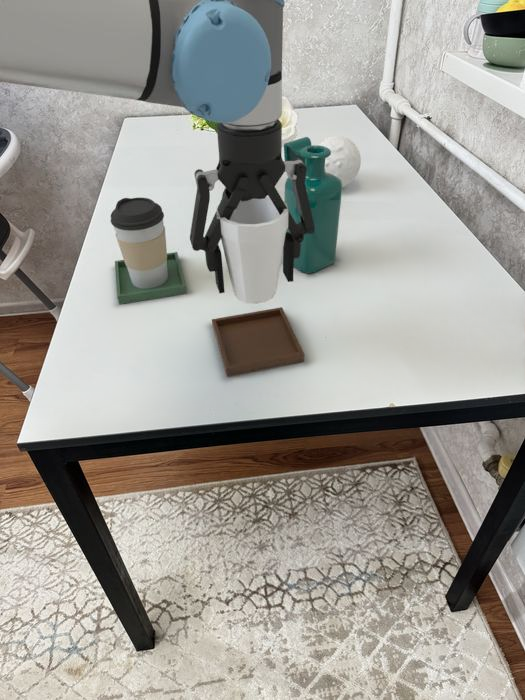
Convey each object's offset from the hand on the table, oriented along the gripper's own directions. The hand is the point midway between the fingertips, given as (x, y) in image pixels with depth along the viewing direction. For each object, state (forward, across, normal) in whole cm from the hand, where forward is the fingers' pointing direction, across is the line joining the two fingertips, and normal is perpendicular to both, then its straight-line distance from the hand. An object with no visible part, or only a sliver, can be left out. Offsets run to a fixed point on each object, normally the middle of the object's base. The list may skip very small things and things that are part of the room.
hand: (254, 282), depth 71 cm
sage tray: (+12, +15, -23) cm, 30 cm away
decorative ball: (+12, -33, -52) cm, 63 cm away
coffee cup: (+12, +15, -23) cm, 30 cm away
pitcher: (+12, -16, -22) cm, 30 cm away
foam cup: (+2, 0, 0) cm, 2 cm away
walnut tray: (+12, 0, 0) cm, 12 cm away
